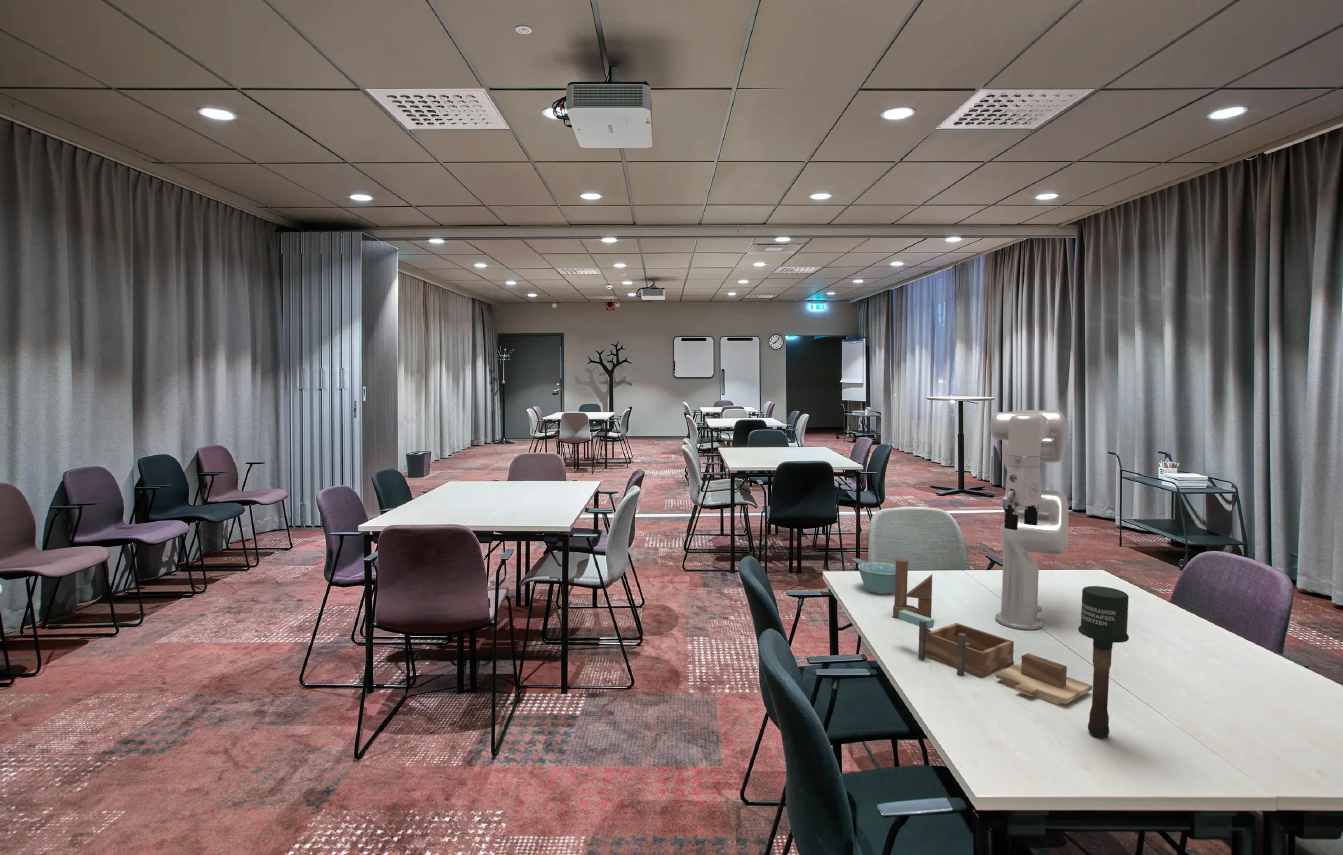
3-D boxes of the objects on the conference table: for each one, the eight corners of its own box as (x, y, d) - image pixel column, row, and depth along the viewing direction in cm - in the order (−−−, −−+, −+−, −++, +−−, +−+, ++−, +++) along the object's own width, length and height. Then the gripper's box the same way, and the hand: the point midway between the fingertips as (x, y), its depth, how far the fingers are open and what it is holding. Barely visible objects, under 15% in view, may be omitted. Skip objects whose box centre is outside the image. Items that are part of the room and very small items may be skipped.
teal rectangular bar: (904, 617, 182) (904, 609, 181) (933, 627, 174) (933, 619, 174) (898, 619, 180) (898, 611, 180) (927, 629, 173) (928, 621, 173)
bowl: (854, 583, 239) (855, 560, 238) (899, 585, 237) (900, 562, 236) (861, 596, 224) (861, 572, 223) (909, 599, 221) (910, 574, 221)
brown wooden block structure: (930, 623, 199) (931, 564, 197) (892, 618, 203) (894, 560, 202) (931, 619, 202) (933, 561, 201) (894, 614, 207) (895, 557, 205)
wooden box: (956, 643, 183) (957, 607, 183) (1014, 663, 170) (1015, 625, 170) (916, 658, 173) (918, 620, 173) (974, 681, 160) (976, 640, 159)
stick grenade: (1064, 725, 140) (1070, 585, 138) (1102, 723, 140) (1109, 584, 138) (1093, 746, 131) (1100, 598, 129) (1134, 745, 132) (1141, 597, 130)
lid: (1022, 670, 167) (1023, 644, 167) (1091, 695, 154) (1093, 666, 153) (989, 685, 158) (990, 657, 158) (1059, 713, 145) (1060, 682, 145)
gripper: (1020, 465, 165) (1017, 533, 166) (1054, 461, 175) (1052, 525, 176) (991, 462, 171) (988, 528, 172) (1026, 458, 181) (1023, 520, 182)
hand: (1020, 526), depth 174 cm, fingers open, 9 cm apart
